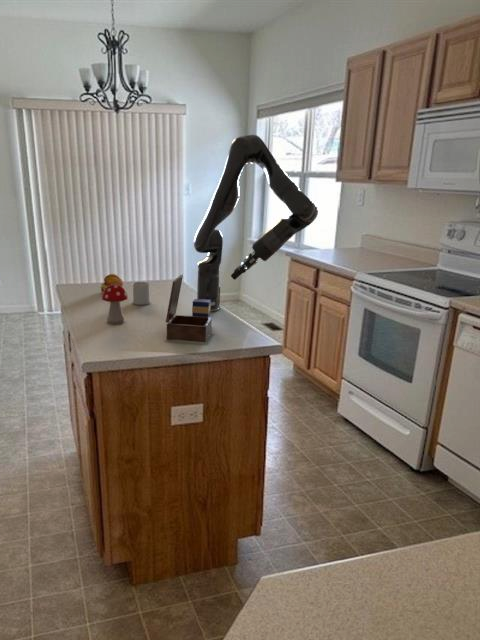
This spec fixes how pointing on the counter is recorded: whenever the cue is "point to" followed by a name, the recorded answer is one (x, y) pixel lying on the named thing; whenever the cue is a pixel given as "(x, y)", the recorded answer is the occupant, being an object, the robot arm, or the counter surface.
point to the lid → (174, 298)
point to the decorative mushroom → (114, 302)
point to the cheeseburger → (111, 281)
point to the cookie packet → (201, 308)
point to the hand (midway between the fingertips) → (234, 275)
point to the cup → (141, 293)
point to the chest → (189, 328)
